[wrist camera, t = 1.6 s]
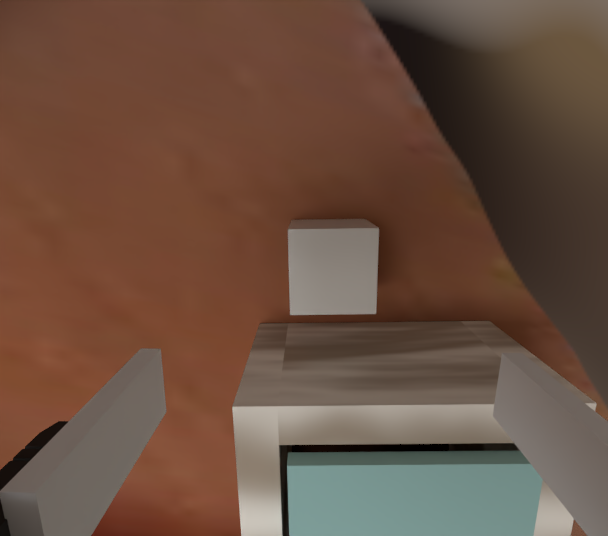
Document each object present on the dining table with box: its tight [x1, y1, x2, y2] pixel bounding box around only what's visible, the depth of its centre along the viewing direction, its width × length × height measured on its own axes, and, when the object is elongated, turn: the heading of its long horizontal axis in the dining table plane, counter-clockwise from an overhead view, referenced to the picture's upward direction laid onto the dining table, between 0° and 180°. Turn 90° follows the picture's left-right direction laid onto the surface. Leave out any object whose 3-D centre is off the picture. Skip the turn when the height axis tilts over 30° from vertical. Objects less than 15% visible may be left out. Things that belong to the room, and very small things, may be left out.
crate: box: [232, 321, 597, 536], centre depth 28 cm, size 20×20×12 cm
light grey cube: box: [288, 219, 379, 315], centre depth 27 cm, size 6×6×6 cm
